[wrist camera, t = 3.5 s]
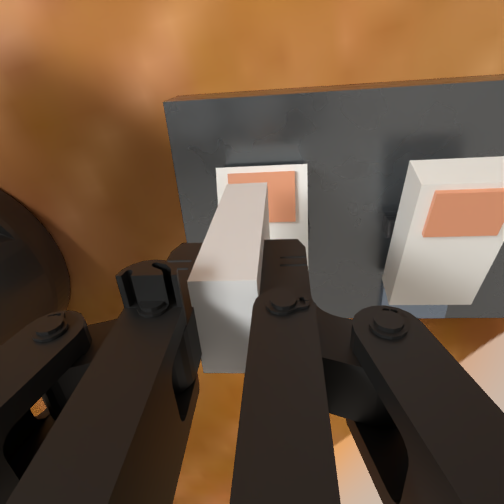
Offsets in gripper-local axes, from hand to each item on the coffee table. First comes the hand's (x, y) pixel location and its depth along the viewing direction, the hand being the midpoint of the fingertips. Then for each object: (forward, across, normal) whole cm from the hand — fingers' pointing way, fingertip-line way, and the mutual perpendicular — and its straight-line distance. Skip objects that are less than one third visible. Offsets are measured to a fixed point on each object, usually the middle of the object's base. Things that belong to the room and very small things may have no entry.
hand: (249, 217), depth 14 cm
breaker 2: (+4, +9, -3) cm, 11 cm away
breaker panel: (+10, +5, -3) cm, 12 cm away
